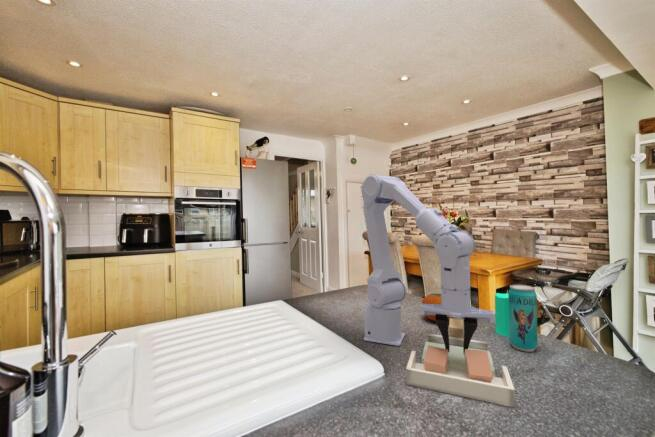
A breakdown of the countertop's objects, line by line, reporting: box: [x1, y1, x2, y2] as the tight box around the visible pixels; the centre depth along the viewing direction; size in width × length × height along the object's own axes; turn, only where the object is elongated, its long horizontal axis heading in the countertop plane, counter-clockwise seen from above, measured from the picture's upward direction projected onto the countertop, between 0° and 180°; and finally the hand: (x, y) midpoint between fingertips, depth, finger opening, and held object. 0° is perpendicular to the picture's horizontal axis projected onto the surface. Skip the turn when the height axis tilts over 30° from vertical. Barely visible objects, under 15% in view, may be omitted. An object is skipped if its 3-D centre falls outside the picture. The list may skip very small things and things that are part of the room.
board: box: [421, 341, 496, 377], centre depth 64 cm, size 14×10×2 cm
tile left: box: [424, 345, 449, 374], centre depth 60 cm, size 4×5×2 cm
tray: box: [405, 350, 516, 409], centre depth 56 cm, size 18×8×3 cm, turn 66°
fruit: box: [421, 292, 455, 322], centre depth 91 cm, size 11×10×8 cm
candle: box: [494, 292, 509, 338], centre depth 80 cm, size 6×6×12 cm
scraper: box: [427, 318, 488, 351], centre depth 73 cm, size 13×8×6 cm, turn 66°
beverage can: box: [508, 284, 538, 353], centre depth 71 cm, size 6×6×15 cm
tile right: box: [464, 349, 493, 383], centre depth 57 cm, size 4×5×2 cm
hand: (456, 351), depth 62 cm, fingers open, 3 cm apart
